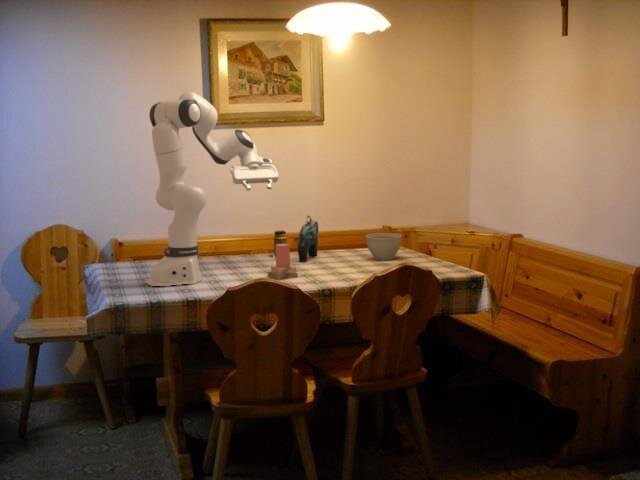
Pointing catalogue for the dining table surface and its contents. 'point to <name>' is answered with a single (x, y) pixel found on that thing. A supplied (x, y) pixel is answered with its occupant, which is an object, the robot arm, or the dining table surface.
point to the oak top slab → (283, 270)
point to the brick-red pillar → (282, 255)
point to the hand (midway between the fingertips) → (259, 189)
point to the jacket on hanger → (308, 240)
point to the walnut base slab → (282, 276)
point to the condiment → (279, 240)
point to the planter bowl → (383, 245)
